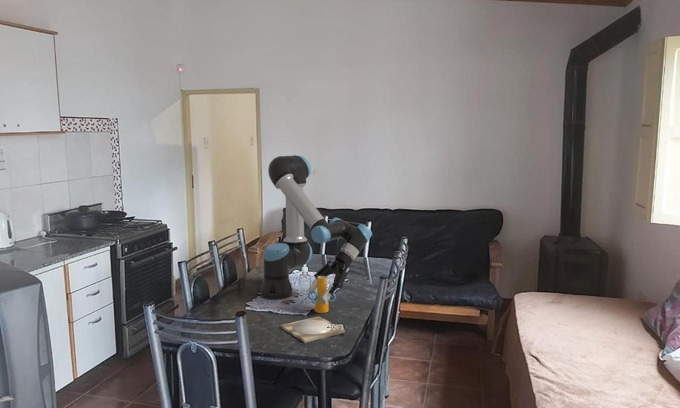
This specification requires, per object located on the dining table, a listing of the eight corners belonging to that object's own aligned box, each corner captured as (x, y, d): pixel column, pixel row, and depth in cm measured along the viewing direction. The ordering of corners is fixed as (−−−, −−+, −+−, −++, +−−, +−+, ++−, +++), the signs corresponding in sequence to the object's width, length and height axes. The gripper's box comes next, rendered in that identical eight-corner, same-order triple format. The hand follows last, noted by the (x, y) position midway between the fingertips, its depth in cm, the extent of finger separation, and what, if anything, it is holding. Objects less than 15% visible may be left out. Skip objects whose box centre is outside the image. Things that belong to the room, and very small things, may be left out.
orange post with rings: (322, 304, 236) (322, 272, 233) (340, 310, 229) (340, 276, 227) (302, 311, 226) (302, 277, 224) (320, 317, 220) (321, 282, 218)
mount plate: (280, 327, 208) (280, 324, 208) (319, 318, 218) (319, 315, 218) (304, 342, 194) (304, 339, 193) (344, 332, 204) (344, 329, 204)
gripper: (367, 266, 224) (337, 308, 217) (336, 255, 243) (307, 294, 236) (358, 255, 220) (326, 298, 213) (326, 245, 239) (297, 284, 232)
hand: (316, 295), depth 225 cm, fingers closed on orange post with rings, 11 cm apart
